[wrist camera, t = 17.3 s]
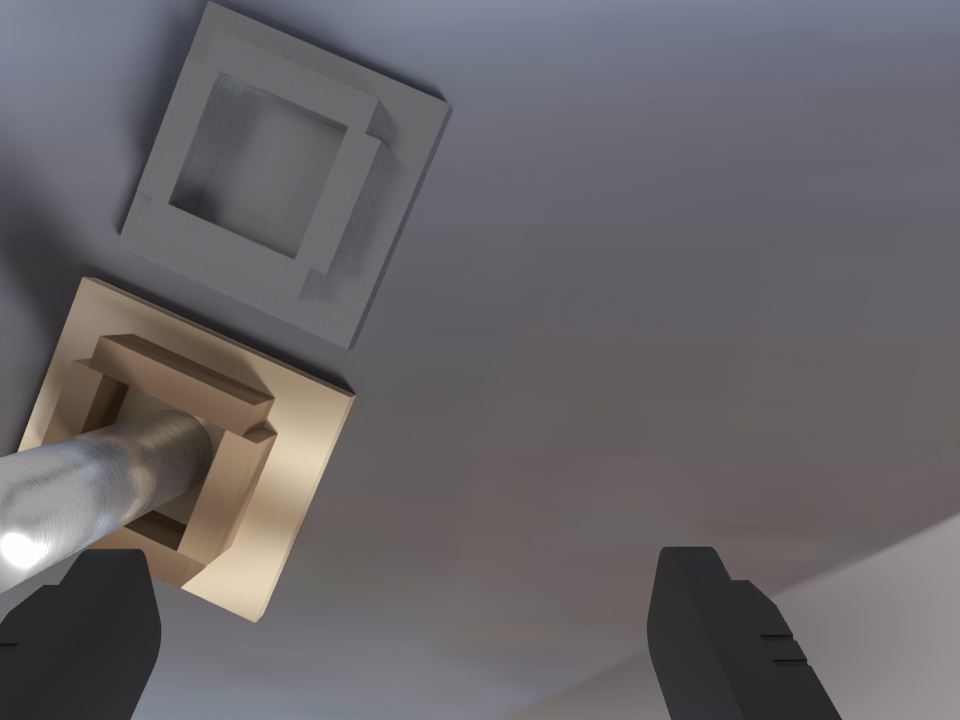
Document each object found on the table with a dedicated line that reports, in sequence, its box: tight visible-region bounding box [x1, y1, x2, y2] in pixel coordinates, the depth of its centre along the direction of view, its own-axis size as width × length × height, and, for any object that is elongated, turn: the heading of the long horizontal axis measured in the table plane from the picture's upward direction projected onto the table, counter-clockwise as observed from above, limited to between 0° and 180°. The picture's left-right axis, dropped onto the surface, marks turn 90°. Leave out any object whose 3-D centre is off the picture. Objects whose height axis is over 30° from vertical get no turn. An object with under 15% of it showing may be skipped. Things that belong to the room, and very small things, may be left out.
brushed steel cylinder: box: [0, 410, 213, 593], centre depth 27 cm, size 4×4×12 cm
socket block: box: [116, 0, 453, 350], centre depth 31 cm, size 12×12×4 cm
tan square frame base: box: [18, 277, 356, 623], centre depth 32 cm, size 12×14×4 cm
